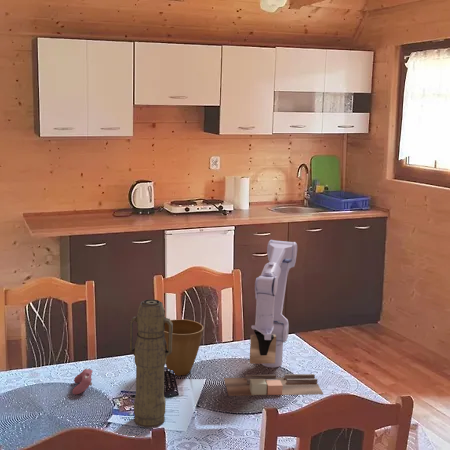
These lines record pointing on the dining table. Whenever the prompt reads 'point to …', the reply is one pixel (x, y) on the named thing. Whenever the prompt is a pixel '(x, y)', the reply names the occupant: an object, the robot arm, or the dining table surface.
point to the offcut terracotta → (274, 387)
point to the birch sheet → (255, 353)
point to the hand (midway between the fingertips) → (262, 353)
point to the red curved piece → (83, 381)
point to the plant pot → (183, 345)
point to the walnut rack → (290, 382)
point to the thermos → (150, 362)
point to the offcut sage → (258, 386)
